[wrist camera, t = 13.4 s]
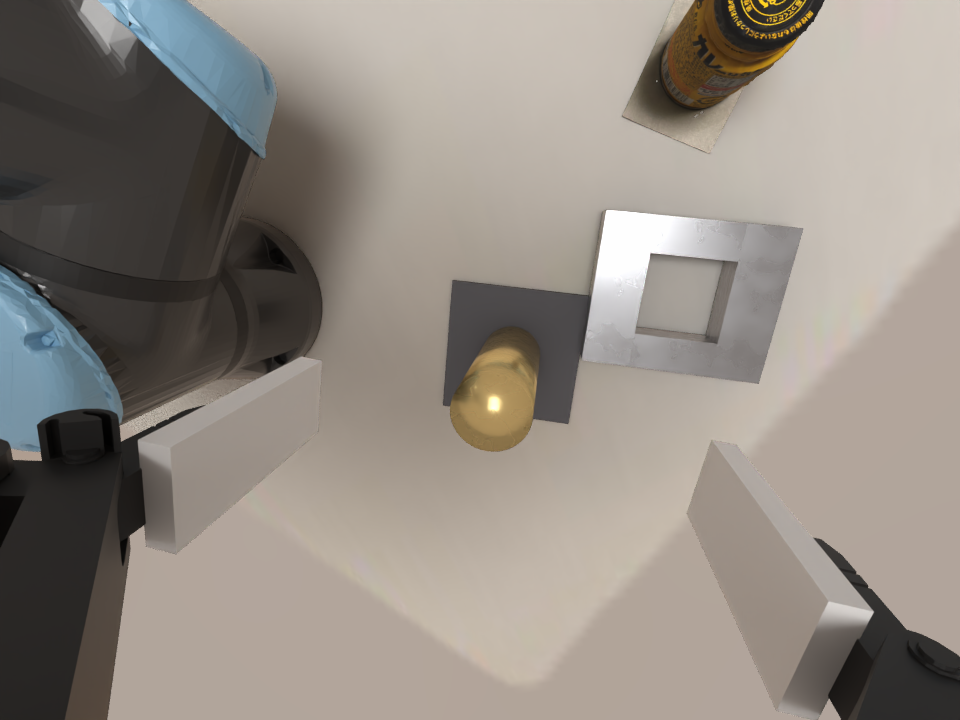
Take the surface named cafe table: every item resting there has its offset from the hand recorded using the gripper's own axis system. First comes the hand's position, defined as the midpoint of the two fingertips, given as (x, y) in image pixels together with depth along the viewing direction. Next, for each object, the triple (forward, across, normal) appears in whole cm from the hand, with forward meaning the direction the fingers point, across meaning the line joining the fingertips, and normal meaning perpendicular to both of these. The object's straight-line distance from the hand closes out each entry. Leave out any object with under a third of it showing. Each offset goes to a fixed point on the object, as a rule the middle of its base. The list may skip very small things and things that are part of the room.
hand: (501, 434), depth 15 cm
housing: (+27, +11, +3) cm, 29 cm away
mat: (+27, -1, -5) cm, 27 cm away
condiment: (+27, +8, +19) cm, 34 cm away
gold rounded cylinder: (+26, -1, -5) cm, 27 cm away
